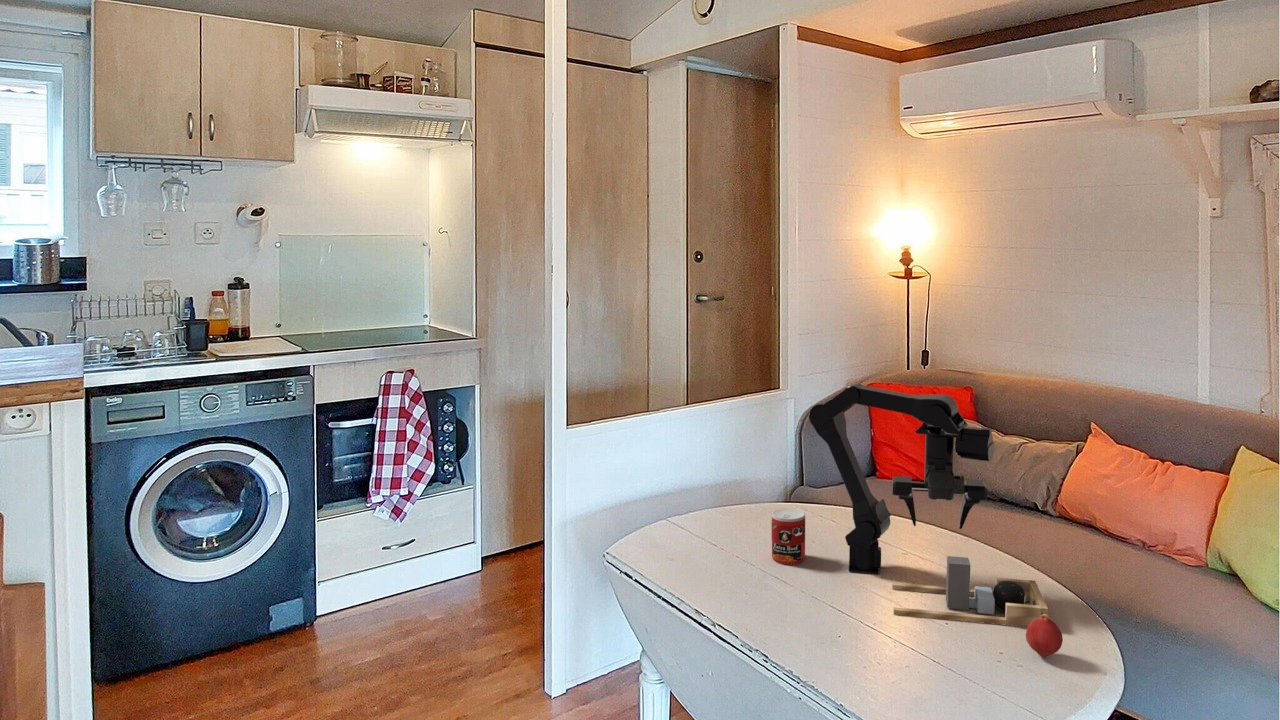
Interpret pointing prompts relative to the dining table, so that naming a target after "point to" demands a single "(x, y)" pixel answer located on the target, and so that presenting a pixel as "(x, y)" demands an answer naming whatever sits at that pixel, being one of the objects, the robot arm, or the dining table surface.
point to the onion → (1044, 636)
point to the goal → (1023, 612)
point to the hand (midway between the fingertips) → (937, 526)
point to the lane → (938, 613)
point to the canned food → (788, 536)
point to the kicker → (965, 588)
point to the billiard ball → (1008, 594)
